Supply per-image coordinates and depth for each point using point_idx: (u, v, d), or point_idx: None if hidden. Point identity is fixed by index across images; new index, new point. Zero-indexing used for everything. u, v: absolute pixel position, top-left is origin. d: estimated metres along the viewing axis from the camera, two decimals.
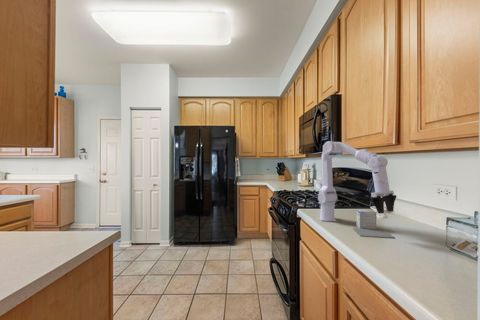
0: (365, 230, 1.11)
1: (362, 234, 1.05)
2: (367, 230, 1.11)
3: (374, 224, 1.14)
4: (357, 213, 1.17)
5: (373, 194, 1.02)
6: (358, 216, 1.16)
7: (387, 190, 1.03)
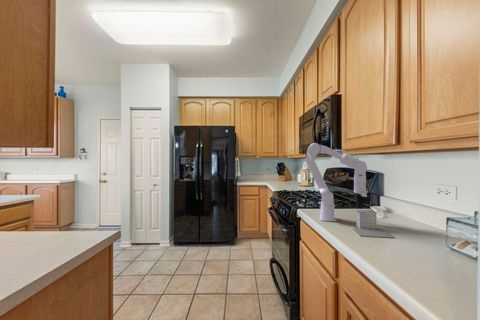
0: (365, 230, 1.11)
1: (362, 234, 1.05)
2: (367, 230, 1.11)
3: (374, 224, 1.14)
4: (357, 213, 1.17)
5: (364, 194, 1.19)
6: (358, 216, 1.16)
7: (365, 190, 1.25)
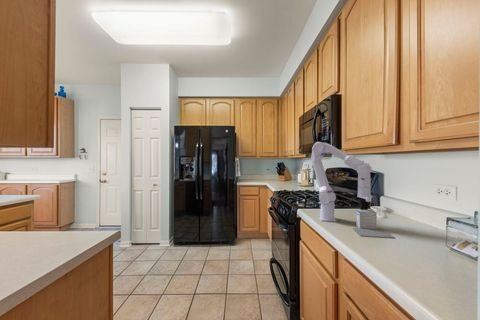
0: (365, 230, 1.11)
1: (362, 234, 1.05)
2: (367, 230, 1.11)
3: (374, 224, 1.14)
4: (357, 213, 1.17)
5: (369, 199, 1.12)
6: (358, 216, 1.16)
7: (370, 195, 1.18)
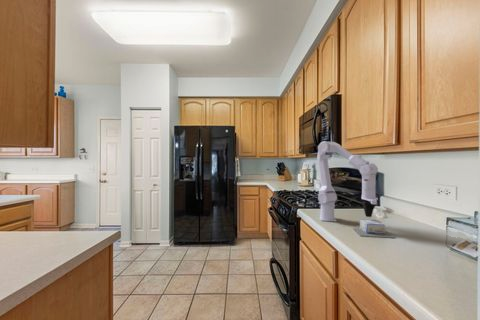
0: None
1: (362, 234, 1.05)
2: None
3: None
4: (365, 226, 1.08)
5: (374, 201, 1.06)
6: (364, 228, 1.09)
7: None
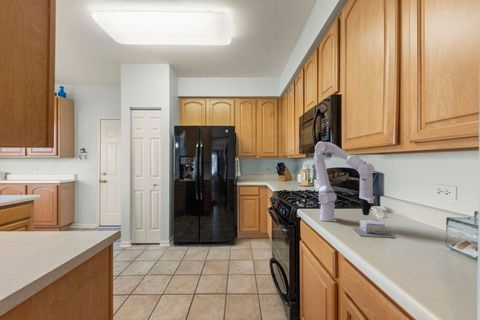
0: None
1: (362, 234, 1.05)
2: None
3: None
4: (365, 226, 1.08)
5: (371, 200, 1.09)
6: (364, 228, 1.09)
7: (372, 196, 1.15)
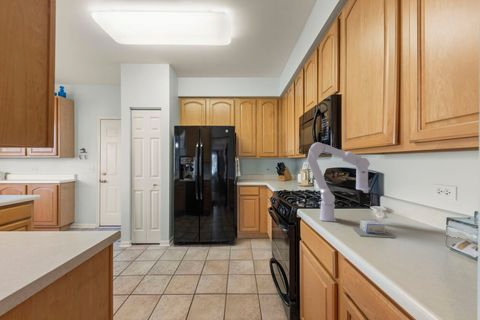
0: None
1: (362, 234, 1.05)
2: None
3: None
4: (365, 226, 1.08)
5: (366, 190, 1.21)
6: (364, 228, 1.09)
7: (367, 186, 1.27)
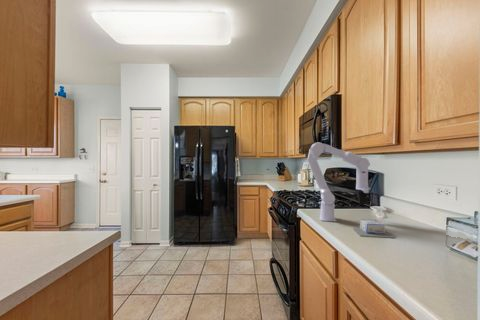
0: None
1: (362, 234, 1.05)
2: None
3: None
4: (365, 226, 1.08)
5: (366, 190, 1.21)
6: (364, 228, 1.09)
7: (367, 187, 1.27)
